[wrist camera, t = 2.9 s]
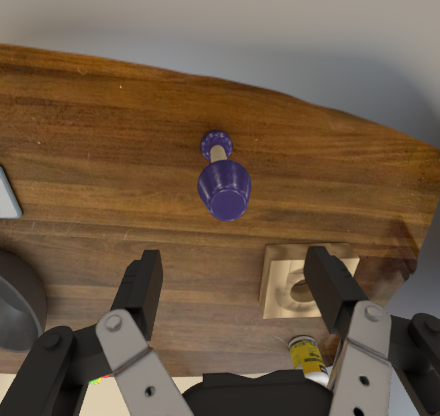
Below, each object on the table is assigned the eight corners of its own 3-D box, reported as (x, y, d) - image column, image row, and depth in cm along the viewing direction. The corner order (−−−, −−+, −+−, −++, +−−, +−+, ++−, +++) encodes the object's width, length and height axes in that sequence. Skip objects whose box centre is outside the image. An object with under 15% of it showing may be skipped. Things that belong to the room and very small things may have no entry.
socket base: (347, 242, 42) (360, 258, 39) (328, 298, 49) (338, 315, 46) (266, 244, 41) (271, 260, 38) (259, 300, 49) (263, 318, 45)
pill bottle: (319, 337, 56) (343, 393, 46) (306, 352, 59) (325, 408, 49) (295, 332, 54) (314, 389, 45) (283, 348, 57) (298, 405, 48)
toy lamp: (203, 122, 31) (200, 173, 17) (239, 129, 32) (266, 184, 17) (198, 158, 33) (191, 230, 19) (231, 164, 34) (249, 238, 20)
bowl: (12, 322, 49) (-12, 354, 43) (-52, 232, 38) (-95, 260, 32) (74, 319, 49) (58, 350, 44) (29, 229, 38) (-1, 256, 33)
